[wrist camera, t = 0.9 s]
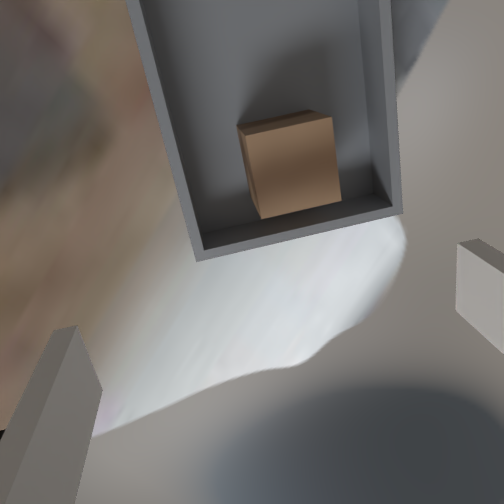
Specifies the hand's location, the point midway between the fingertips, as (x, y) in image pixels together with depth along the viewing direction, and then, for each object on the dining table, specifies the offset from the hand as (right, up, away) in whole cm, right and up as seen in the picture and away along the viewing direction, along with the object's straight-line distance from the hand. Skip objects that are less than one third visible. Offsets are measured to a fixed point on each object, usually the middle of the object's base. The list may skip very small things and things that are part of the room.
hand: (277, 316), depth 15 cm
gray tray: (0, +16, +19) cm, 25 cm away
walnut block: (+1, +10, +21) cm, 24 cm away
